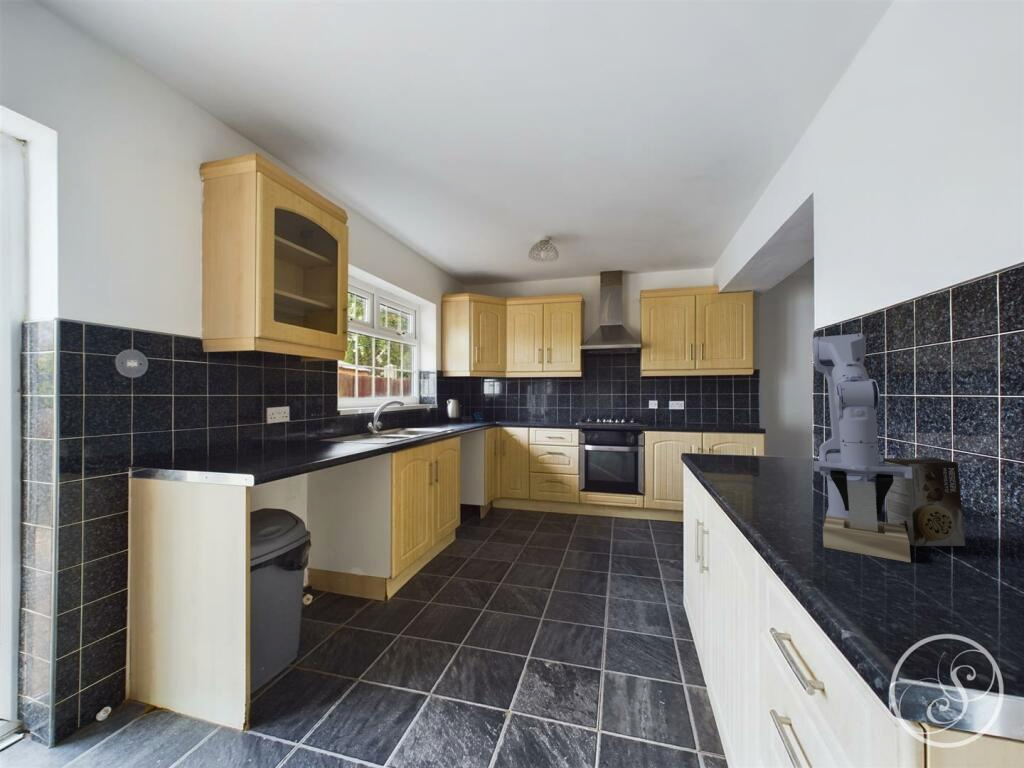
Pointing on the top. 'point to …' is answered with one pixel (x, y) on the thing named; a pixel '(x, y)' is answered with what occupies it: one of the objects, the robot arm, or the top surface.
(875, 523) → the grey brushed square bar
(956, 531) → the coffee box
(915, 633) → the top surface
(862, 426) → the robot arm
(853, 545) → the block
